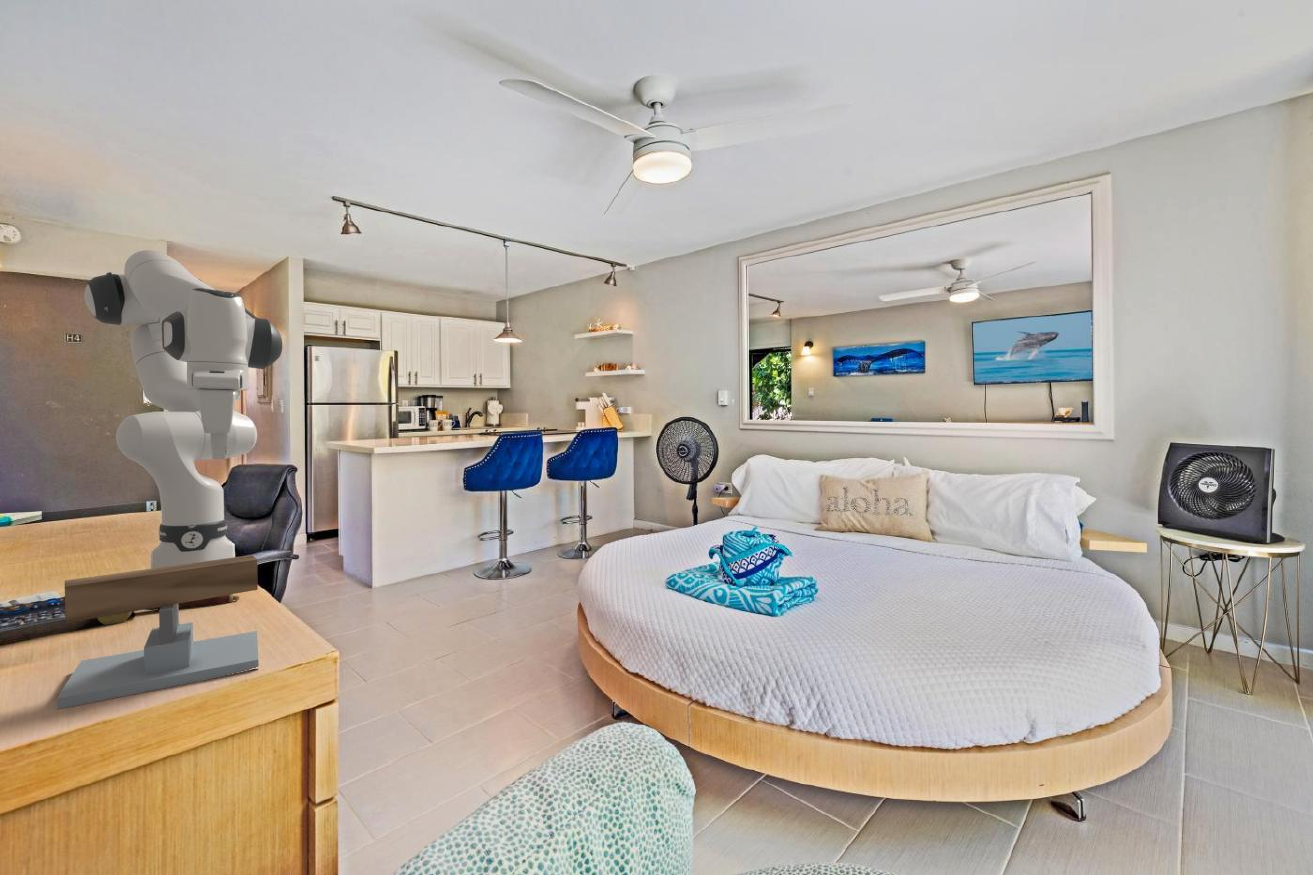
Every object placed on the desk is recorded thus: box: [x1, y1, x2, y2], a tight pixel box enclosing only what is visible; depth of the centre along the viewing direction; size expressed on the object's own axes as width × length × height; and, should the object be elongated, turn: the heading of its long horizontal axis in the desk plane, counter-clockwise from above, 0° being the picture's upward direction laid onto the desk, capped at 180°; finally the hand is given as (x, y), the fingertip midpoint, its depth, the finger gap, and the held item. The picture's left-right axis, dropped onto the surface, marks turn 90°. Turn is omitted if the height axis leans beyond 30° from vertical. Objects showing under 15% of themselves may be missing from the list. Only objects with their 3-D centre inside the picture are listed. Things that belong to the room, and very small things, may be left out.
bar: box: [64, 554, 259, 624], centre depth 89 cm, size 4×22×5 cm, turn 135°
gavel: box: [97, 594, 241, 626], centre depth 116 cm, size 21×5×10 cm
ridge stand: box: [56, 604, 260, 710], centre depth 89 cm, size 14×22×10 cm, turn 125°
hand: (219, 457), depth 105 cm, fingers open, 8 cm apart
